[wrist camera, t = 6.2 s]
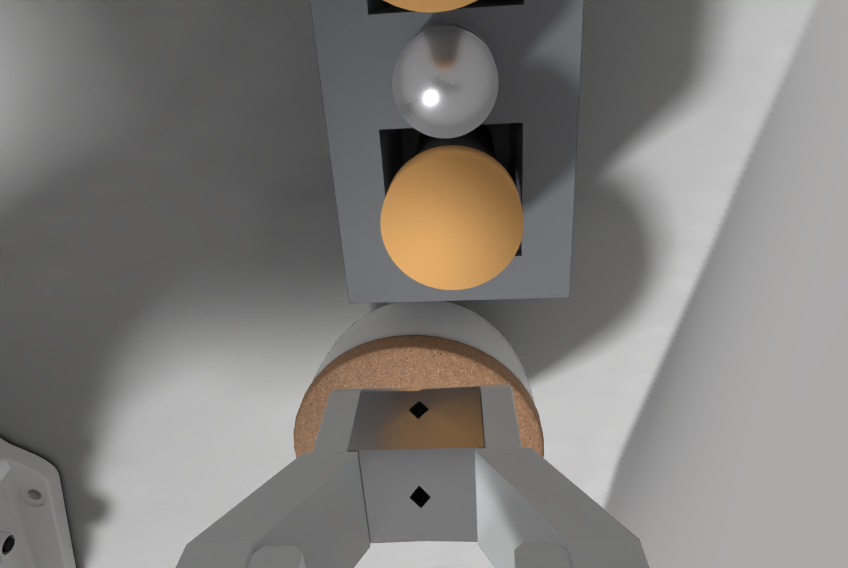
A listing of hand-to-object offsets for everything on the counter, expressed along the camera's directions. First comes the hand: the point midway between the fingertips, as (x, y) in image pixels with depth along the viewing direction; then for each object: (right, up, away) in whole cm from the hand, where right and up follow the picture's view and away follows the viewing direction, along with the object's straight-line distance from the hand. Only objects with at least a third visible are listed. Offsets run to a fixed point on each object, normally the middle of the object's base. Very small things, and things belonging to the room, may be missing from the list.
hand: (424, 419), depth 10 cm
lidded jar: (0, -1, +23) cm, 23 cm away
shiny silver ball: (+1, +9, +8) cm, 12 cm away
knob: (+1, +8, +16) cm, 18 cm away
